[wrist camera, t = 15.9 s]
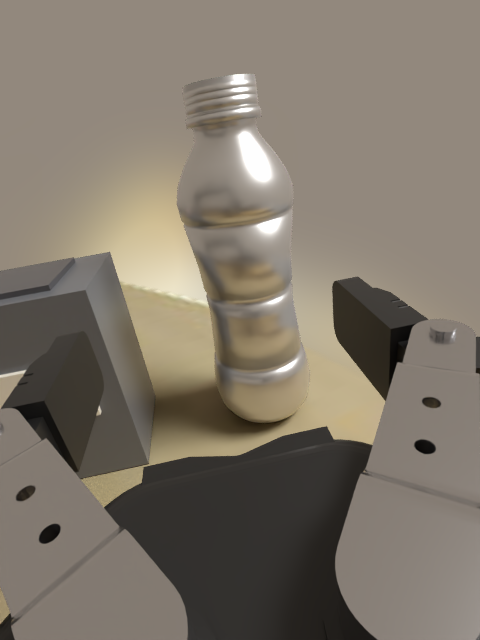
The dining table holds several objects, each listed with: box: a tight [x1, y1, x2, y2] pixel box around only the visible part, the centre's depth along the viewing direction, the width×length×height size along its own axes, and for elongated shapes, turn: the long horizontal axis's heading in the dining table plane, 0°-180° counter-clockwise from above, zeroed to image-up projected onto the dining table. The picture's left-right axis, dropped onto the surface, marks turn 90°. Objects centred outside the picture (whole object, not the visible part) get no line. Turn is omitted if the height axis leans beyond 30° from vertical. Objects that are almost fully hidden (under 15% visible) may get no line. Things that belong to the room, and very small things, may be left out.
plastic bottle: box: [177, 74, 310, 423], centre depth 23 cm, size 6×7×20 cm
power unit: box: [0, 252, 155, 479], centre depth 23 cm, size 7×16×12 cm, turn 98°
